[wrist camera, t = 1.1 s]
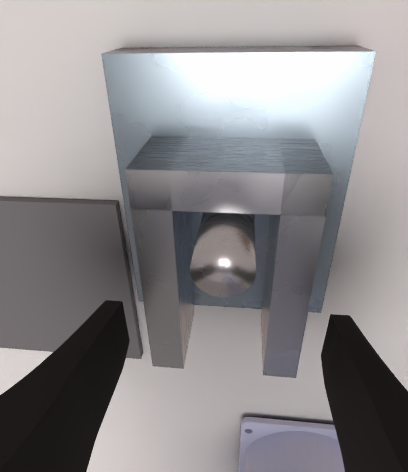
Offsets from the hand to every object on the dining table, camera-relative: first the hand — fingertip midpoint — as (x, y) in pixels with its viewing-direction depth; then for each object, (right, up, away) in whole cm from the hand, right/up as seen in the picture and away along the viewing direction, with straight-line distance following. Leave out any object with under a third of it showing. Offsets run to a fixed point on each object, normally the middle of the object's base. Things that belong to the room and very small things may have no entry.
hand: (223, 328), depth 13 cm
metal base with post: (+1, +5, +2) cm, 6 cm away
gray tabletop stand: (0, +3, +1) cm, 3 cm away
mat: (-9, +1, +6) cm, 11 cm away
